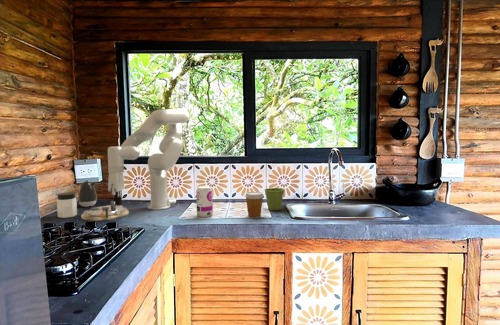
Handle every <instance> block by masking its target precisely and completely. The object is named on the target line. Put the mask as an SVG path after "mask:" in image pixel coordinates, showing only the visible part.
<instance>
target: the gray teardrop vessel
mask: <svg viewBox="0 0 500 325" xmlns="http://www.w3.org/2000/svg"><path fill="white" fill-rule="evenodd" d="M96 184H97V183H96V182H91V181H88V180H87V181H84V182H82V183H81V184H80V188H79V191H78V196H77V197H78V198H77V202H78V203H79V205H80V206H81V207H82V208H90V207H89V206H91V207H94V206H95V204H96V203H97V200H98V196H97V191H96V188H95V187H94V186H95V185H96Z"/></svg>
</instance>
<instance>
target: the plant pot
mask: <svg viewBox="0 0 500 325" xmlns="http://www.w3.org/2000/svg"><path fill="white" fill-rule="evenodd" d="M263 191H264V192H265V193H264V195H265V197H266V198H265V199H266V202H267V204H266V205H267V208H268V210H269V211H270V210H271V211H278V210H281V209H282V204H283V198H284V194H285V191H286V188H282V187H270V188H264V189H263Z"/></svg>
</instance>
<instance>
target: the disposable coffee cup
mask: <svg viewBox="0 0 500 325" xmlns="http://www.w3.org/2000/svg"><path fill="white" fill-rule="evenodd" d="M264 196H265V194H263V192H261V191H248V192H245V194H244V197H245V199H246V200H245V201H246V208H247V214H248V215H247V216H248V217H249V218H252V217H257V218H260V217H261V214H262V206H263V198H264Z"/></svg>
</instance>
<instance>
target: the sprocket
mask: <svg viewBox="0 0 500 325" xmlns="http://www.w3.org/2000/svg"><path fill="white" fill-rule="evenodd" d="M106 209H108V216H110V215H118V214H120V213H122V212H124V211H126V209H127V207H124V206H123V205H116V202H115V201H114V200H111V201H110V205H104V206H102V205H101V206H92V207H91V208H89V209H86V210H85V209H84V210H83V213H84V214H86V216H87V217H90V216H95V217H99V216H100V217H104V216H106V212H105V210H106Z"/></svg>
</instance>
